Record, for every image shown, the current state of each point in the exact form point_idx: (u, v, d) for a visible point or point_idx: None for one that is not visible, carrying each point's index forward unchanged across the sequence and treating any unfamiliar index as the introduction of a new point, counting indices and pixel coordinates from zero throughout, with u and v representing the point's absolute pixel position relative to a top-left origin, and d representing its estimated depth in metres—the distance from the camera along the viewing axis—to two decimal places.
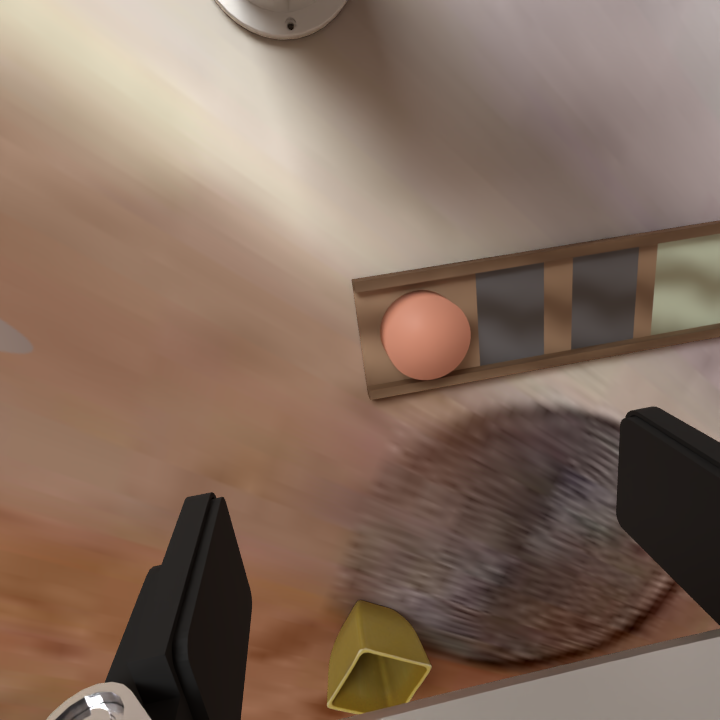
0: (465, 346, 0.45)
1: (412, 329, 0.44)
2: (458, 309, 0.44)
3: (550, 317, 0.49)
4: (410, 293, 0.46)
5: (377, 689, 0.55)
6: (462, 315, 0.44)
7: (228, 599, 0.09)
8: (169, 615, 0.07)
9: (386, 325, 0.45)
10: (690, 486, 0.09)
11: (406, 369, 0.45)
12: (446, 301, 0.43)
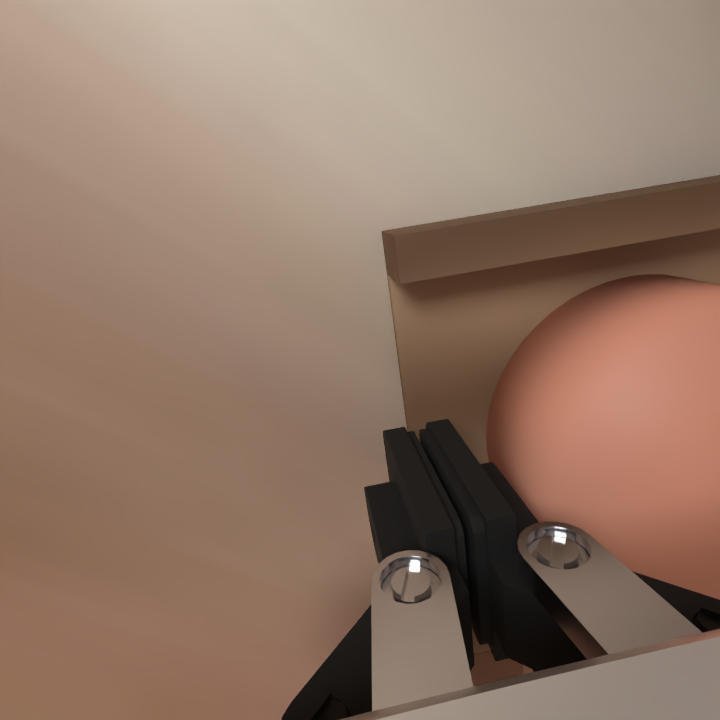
0: None
1: (671, 447, 0.10)
2: None
3: None
4: (615, 288, 0.12)
5: None
6: None
7: None
8: (435, 505, 0.08)
9: (537, 426, 0.10)
10: (445, 493, 0.10)
11: None
12: None
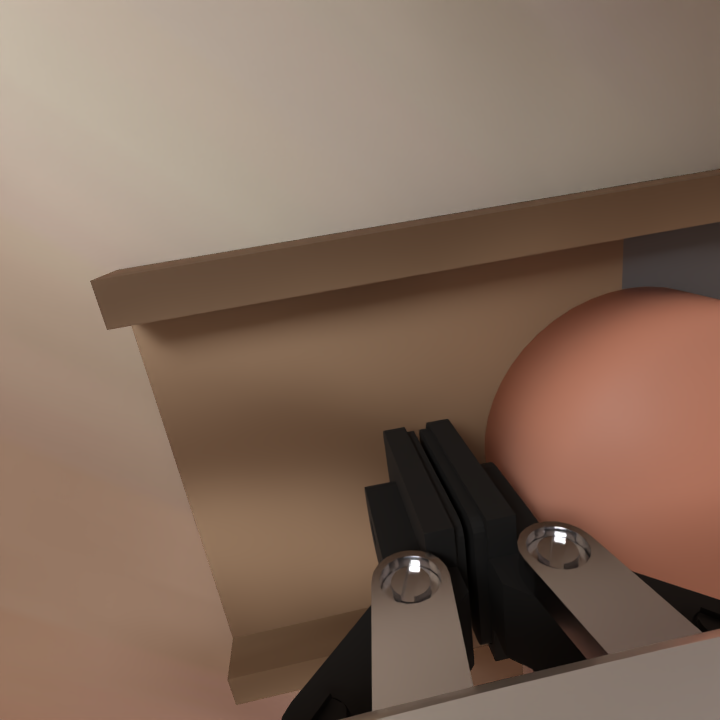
0: None
1: (669, 458, 0.10)
2: None
3: None
4: (618, 299, 0.12)
5: None
6: None
7: None
8: (435, 505, 0.08)
9: (538, 433, 0.11)
10: (445, 494, 0.10)
11: None
12: None
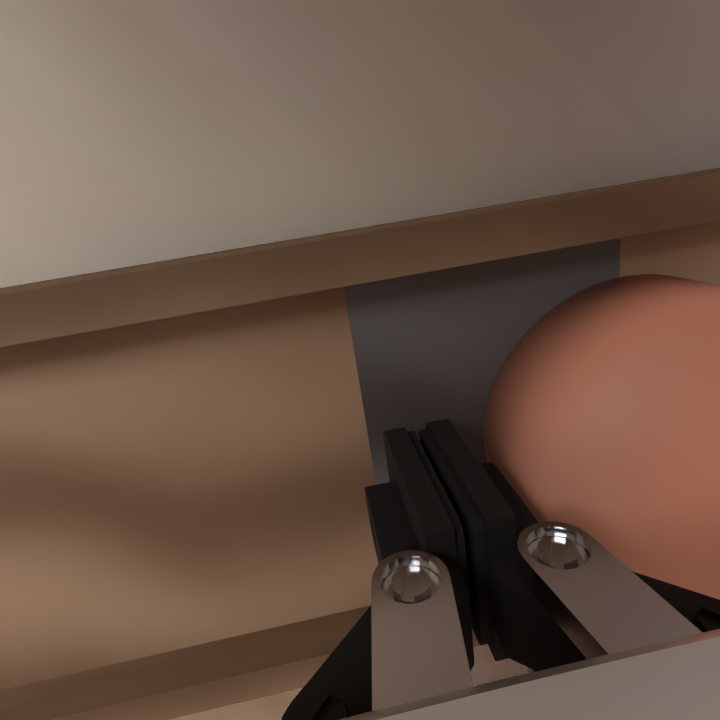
0: None
1: (663, 450, 0.10)
2: None
3: None
4: (604, 291, 0.12)
5: None
6: None
7: None
8: (435, 505, 0.08)
9: (530, 433, 0.11)
10: None
11: None
12: None
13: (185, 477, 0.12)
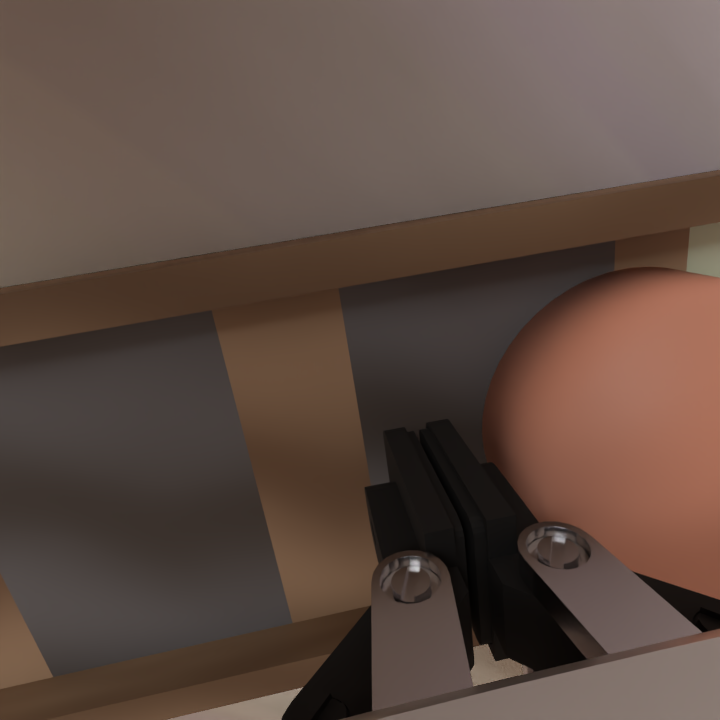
0: None
1: (659, 445, 0.10)
2: None
3: (290, 510, 0.13)
4: (597, 286, 0.12)
5: None
6: None
7: None
8: (436, 505, 0.08)
9: (527, 431, 0.11)
10: None
11: None
12: None
13: None
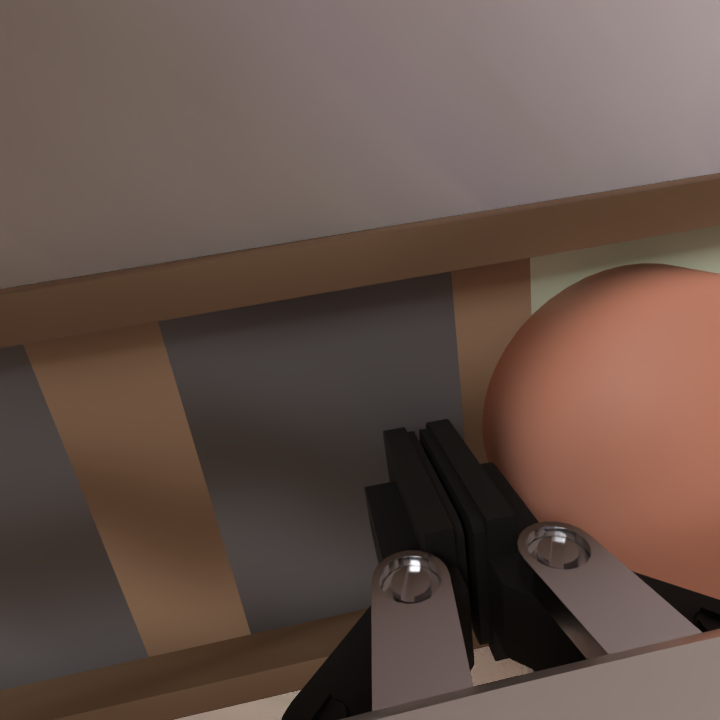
0: None
1: (658, 444, 0.10)
2: None
3: (132, 544, 0.13)
4: (593, 284, 0.12)
5: None
6: None
7: None
8: (436, 505, 0.08)
9: (525, 433, 0.11)
10: None
11: None
12: None
13: None
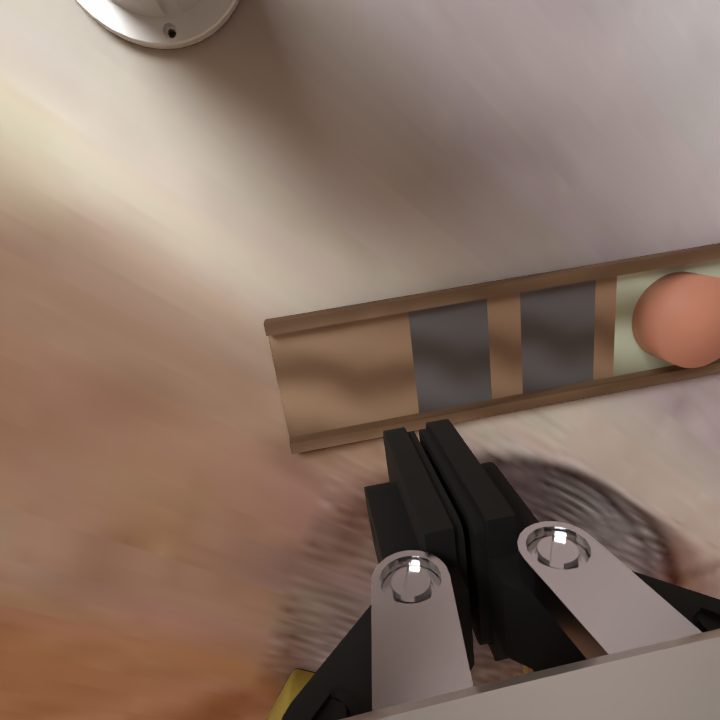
0: None
1: (687, 314, 0.40)
2: None
3: (497, 358, 0.43)
4: (668, 276, 0.42)
5: None
6: None
7: None
8: (436, 505, 0.08)
9: (652, 314, 0.41)
10: None
11: (677, 358, 0.42)
12: None
13: (359, 366, 0.42)
